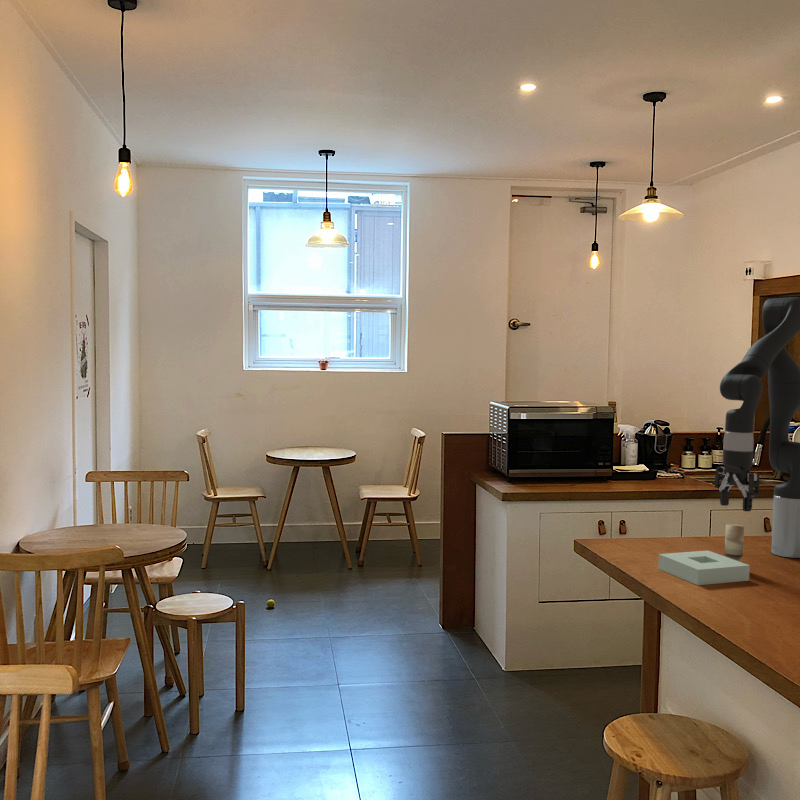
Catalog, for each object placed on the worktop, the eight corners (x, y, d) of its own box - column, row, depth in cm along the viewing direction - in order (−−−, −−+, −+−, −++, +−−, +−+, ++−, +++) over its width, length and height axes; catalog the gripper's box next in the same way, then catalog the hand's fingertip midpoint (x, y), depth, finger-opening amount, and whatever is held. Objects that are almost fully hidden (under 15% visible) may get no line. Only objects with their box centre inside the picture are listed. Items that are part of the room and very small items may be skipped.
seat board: (707, 564, 225) (707, 550, 224) (749, 580, 209) (749, 565, 209) (658, 568, 220) (658, 554, 219) (697, 585, 204) (698, 569, 204)
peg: (733, 566, 223) (735, 523, 222) (746, 571, 219) (748, 527, 218) (719, 567, 222) (721, 524, 221) (731, 572, 217) (733, 528, 216)
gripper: (769, 451, 212) (766, 512, 213) (731, 445, 226) (728, 502, 227) (745, 452, 210) (742, 513, 211) (708, 445, 224) (706, 503, 225)
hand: (735, 508), depth 219 cm, fingers open, 8 cm apart
